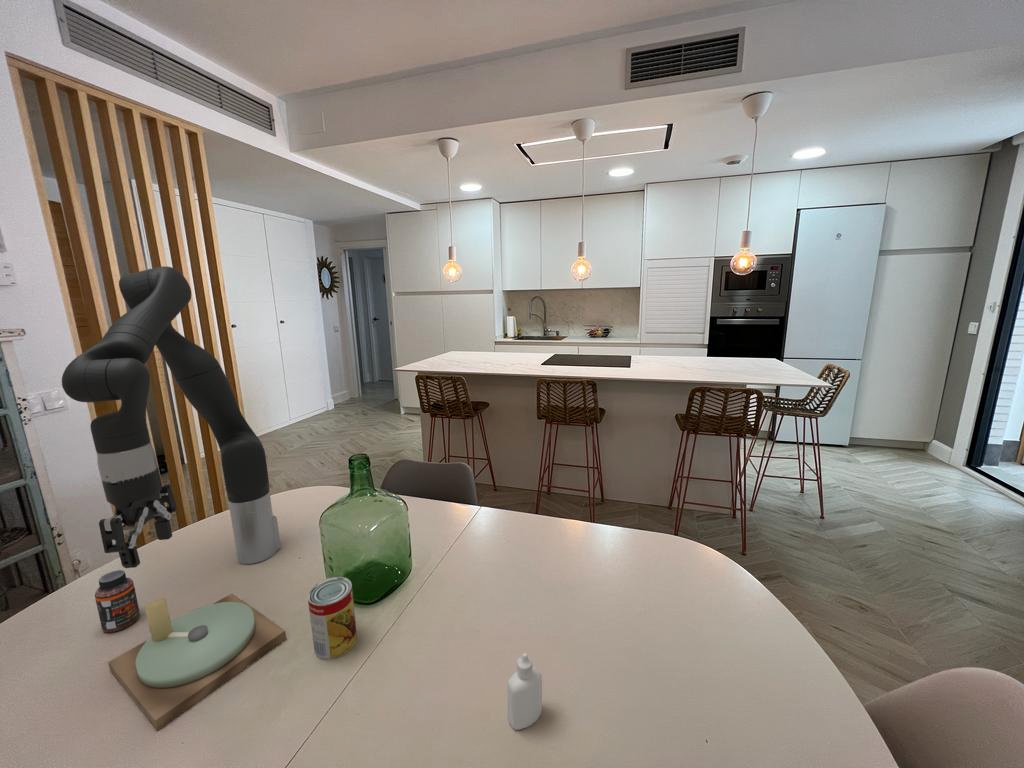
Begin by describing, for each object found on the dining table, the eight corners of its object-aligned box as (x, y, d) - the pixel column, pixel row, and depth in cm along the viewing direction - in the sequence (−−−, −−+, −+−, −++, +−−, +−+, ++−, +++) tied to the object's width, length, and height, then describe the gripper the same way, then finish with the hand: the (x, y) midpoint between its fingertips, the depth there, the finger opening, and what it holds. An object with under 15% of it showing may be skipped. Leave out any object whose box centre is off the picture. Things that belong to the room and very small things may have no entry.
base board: (233, 600, 94) (231, 592, 93) (286, 638, 83) (285, 629, 83) (110, 671, 76) (107, 660, 76) (157, 730, 65) (154, 719, 65)
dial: (273, 610, 88) (268, 572, 86) (212, 688, 70) (203, 643, 68) (190, 609, 88) (183, 572, 86) (108, 687, 70) (97, 642, 69)
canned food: (365, 633, 84) (360, 581, 82) (337, 664, 77) (331, 609, 75) (334, 623, 87) (328, 573, 84) (304, 653, 80) (297, 599, 77)
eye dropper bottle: (507, 704, 69) (506, 643, 67) (540, 703, 69) (541, 642, 67) (508, 731, 65) (507, 667, 62) (543, 729, 65) (544, 666, 63)
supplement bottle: (117, 636, 84) (105, 587, 82) (94, 631, 85) (82, 583, 83) (148, 614, 90) (138, 568, 88) (126, 610, 91) (116, 565, 89)
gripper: (137, 457, 80) (154, 532, 83) (70, 490, 66) (94, 579, 69) (179, 454, 80) (195, 529, 84) (122, 486, 67) (143, 574, 70)
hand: (149, 551), depth 77 cm, fingers open, 8 cm apart
